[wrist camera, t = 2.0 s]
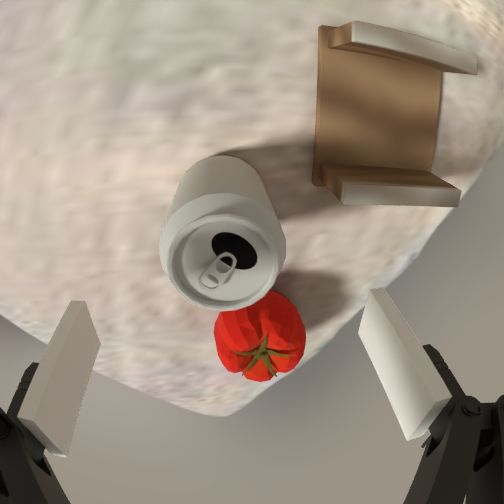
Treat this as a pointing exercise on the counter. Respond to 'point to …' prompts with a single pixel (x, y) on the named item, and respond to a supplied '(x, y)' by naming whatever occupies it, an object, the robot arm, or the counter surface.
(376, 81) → the cradle holder
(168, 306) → the counter surface
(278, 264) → the can
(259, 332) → the tomato
